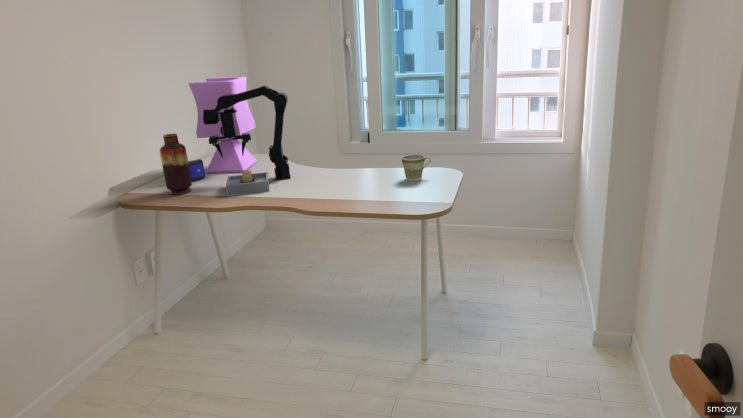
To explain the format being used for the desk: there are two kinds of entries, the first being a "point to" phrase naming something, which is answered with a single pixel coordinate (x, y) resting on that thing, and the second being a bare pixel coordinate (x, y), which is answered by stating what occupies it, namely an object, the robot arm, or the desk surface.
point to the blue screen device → (196, 170)
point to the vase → (175, 165)
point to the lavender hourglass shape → (243, 121)
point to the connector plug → (247, 176)
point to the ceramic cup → (414, 166)
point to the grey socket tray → (247, 184)
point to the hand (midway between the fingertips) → (232, 156)
